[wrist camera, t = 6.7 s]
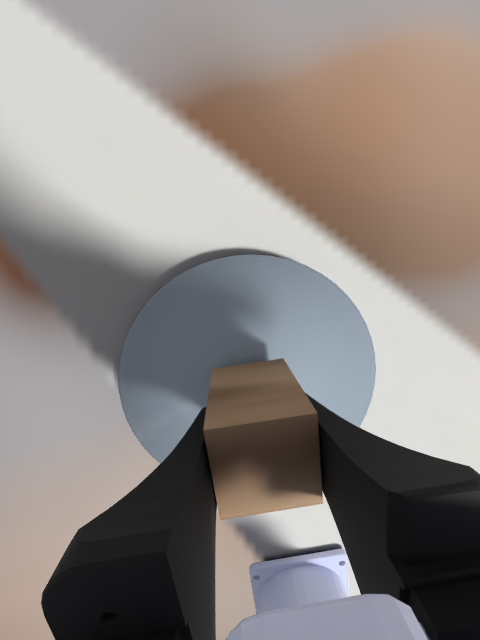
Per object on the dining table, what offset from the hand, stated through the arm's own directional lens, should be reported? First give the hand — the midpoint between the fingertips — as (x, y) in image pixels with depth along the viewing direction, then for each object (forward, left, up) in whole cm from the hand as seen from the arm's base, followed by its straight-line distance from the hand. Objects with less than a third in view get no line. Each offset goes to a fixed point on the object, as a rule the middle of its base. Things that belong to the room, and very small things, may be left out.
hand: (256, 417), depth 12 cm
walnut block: (0, 0, -2) cm, 2 cm away
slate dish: (0, 0, -4) cm, 4 cm away
